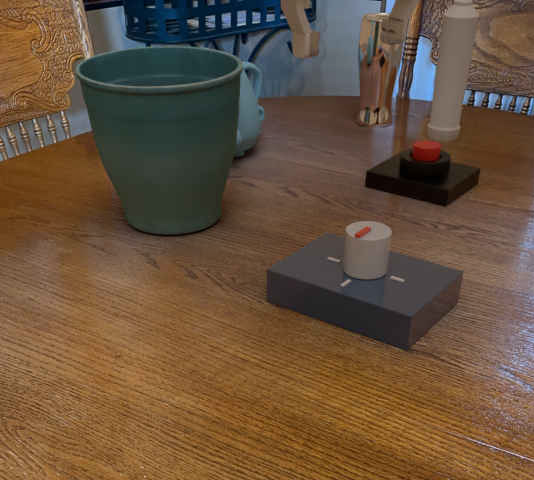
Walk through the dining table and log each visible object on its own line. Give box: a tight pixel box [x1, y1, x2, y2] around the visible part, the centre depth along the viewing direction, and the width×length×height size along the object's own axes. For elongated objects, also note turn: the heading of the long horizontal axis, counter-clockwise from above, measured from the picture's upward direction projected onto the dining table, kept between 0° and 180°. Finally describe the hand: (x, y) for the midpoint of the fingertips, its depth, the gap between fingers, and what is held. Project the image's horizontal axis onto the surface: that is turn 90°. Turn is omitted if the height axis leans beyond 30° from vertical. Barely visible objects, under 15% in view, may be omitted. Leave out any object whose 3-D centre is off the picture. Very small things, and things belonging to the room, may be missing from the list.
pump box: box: [364, 147, 481, 208], centre depth 94 cm, size 12×10×4 cm
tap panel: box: [266, 231, 464, 351], centre depth 70 cm, size 16×11×4 cm
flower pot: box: [75, 45, 243, 236], centre depth 82 cm, size 18×18×17 cm
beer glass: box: [355, 12, 404, 128], centre depth 112 cm, size 7×7×15 cm
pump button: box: [412, 139, 442, 161], centre depth 92 cm, size 4×4×2 cm
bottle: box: [426, 0, 480, 143], centre depth 103 cm, size 5×5×25 cm
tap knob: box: [343, 220, 393, 280], centre depth 67 cm, size 4×4×4 cm
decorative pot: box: [205, 47, 266, 158], centre depth 102 cm, size 16×16×14 cm
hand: (350, 49), depth 60 cm, fingers open, 8 cm apart
